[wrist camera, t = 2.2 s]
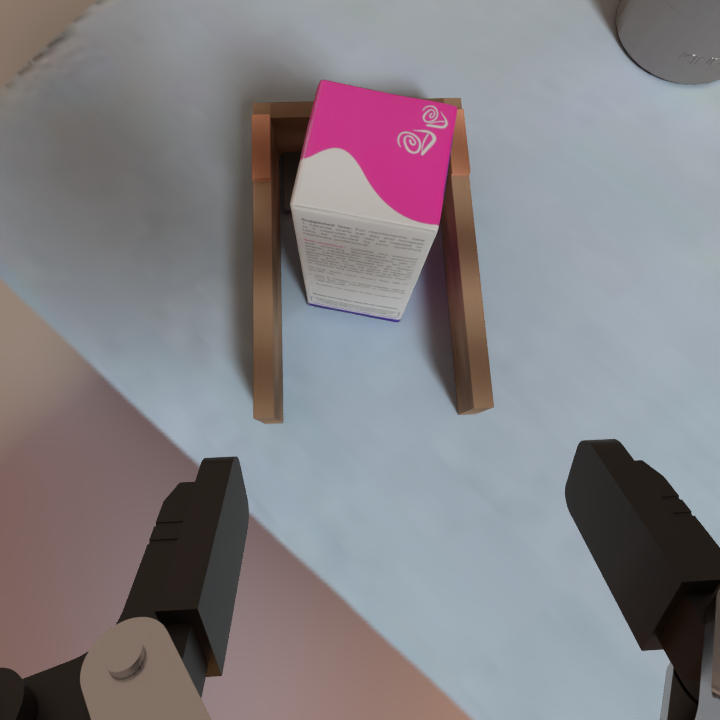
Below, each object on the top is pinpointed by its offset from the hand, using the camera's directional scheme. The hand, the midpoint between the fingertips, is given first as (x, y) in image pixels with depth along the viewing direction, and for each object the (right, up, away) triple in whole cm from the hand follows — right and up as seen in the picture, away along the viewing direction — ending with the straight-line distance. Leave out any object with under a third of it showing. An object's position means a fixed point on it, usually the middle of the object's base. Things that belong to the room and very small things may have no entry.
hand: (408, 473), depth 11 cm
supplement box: (-1, +8, +18) cm, 20 cm away
